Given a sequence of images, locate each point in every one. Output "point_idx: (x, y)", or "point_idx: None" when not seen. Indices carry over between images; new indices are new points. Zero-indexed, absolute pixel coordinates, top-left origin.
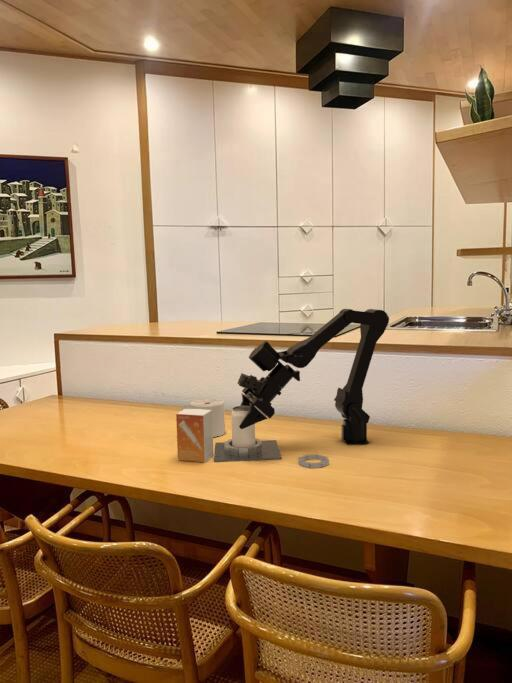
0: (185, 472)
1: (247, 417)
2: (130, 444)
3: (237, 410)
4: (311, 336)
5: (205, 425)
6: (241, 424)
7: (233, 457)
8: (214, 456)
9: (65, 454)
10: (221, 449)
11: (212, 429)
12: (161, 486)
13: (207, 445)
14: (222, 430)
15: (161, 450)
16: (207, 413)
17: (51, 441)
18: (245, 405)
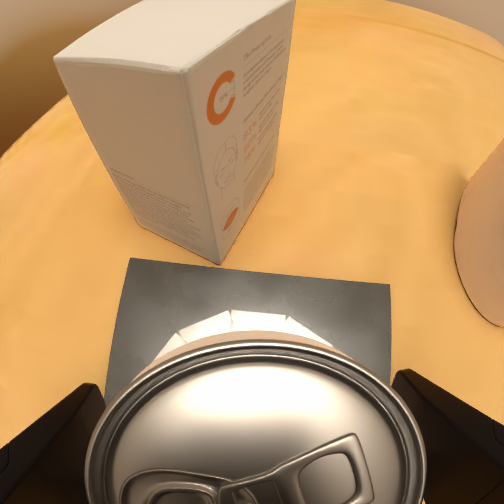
0: (83, 170)
1: (7, 453)
2: (376, 71)
3: (113, 401)
4: None
5: (91, 119)
6: (67, 400)
7: (142, 347)
8: (181, 264)
9: (310, 13)
10: (280, 306)
11: (197, 192)
12: (38, 133)
13: (144, 203)
14: (497, 313)
15: (322, 112)
16: (98, 64)
17: (380, 15)
18: (483, 498)
